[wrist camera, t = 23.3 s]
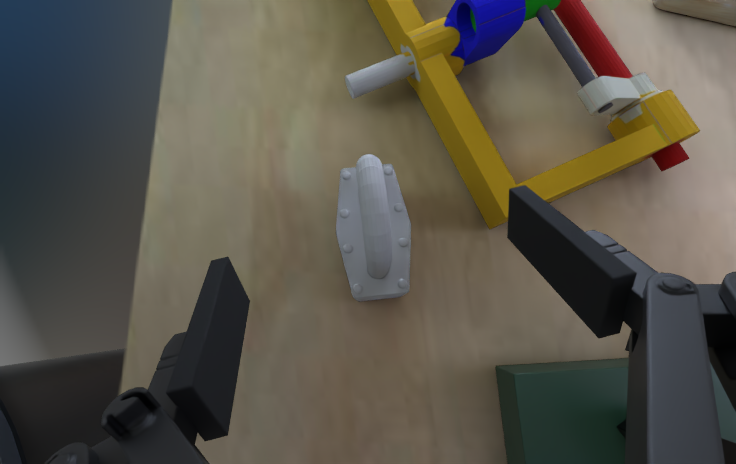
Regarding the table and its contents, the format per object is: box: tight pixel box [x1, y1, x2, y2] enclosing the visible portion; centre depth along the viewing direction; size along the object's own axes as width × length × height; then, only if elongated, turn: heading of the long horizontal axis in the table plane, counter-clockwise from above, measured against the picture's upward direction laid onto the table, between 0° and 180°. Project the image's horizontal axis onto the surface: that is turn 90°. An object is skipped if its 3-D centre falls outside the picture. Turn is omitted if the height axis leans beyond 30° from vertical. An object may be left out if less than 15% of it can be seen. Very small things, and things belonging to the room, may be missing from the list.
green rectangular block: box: [495, 358, 736, 464], centre depth 20 cm, size 14×10×3 cm
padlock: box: [336, 154, 411, 302], centre depth 19 cm, size 7×4×10 cm, turn 6°
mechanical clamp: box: [345, 0, 700, 229], centre depth 24 cm, size 18×6×30 cm
